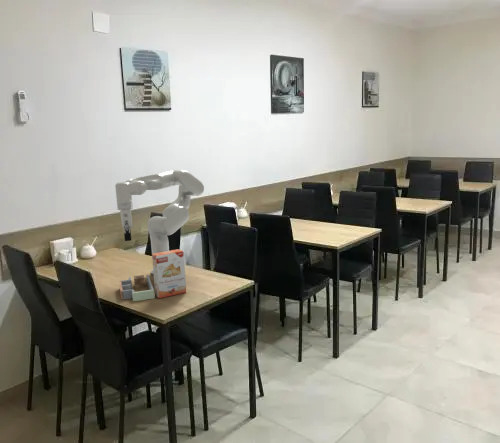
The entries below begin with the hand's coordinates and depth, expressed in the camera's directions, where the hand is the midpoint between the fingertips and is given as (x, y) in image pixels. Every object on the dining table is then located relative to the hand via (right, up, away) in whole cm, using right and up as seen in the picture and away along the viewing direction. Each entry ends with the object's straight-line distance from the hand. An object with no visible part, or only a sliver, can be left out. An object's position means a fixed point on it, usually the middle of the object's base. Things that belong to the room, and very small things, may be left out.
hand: (128, 238), depth 252 cm
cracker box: (+26, -26, -20) cm, 42 cm away
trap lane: (+7, -26, -13) cm, 30 cm away
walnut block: (+7, -24, -5) cm, 26 cm away
